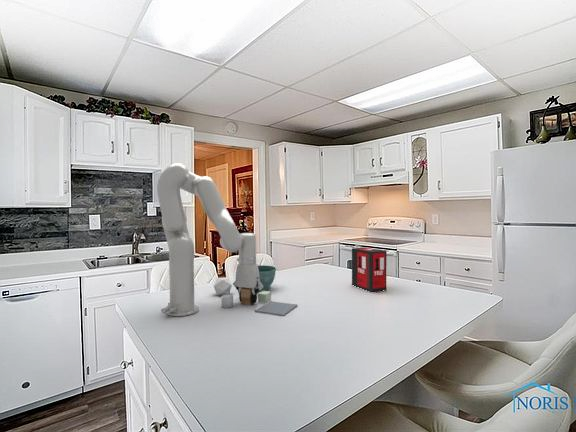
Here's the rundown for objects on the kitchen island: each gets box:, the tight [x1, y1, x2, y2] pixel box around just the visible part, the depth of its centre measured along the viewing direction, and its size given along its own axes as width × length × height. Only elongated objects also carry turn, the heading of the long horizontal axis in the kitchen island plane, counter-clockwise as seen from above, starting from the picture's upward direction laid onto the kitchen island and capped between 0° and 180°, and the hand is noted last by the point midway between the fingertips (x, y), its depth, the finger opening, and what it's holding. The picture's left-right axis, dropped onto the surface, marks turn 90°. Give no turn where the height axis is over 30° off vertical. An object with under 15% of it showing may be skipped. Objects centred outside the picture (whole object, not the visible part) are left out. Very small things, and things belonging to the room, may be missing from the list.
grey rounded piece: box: [221, 294, 234, 309], centre depth 139 cm, size 5×5×4 cm
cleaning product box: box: [351, 246, 387, 293], centre depth 168 cm, size 16×9×20 cm, turn 25°
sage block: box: [257, 290, 272, 304], centre depth 147 cm, size 5×4×4 cm
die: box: [213, 276, 233, 297], centre depth 158 cm, size 8×9×10 cm
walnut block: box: [240, 288, 253, 307], centre depth 143 cm, size 4×4×7 cm
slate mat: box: [254, 300, 298, 317], centre depth 135 cm, size 14×13×1 cm
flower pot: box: [257, 264, 277, 292], centre depth 168 cm, size 16×16×11 cm
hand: (248, 301), depth 143 cm, fingers open, 5 cm apart
